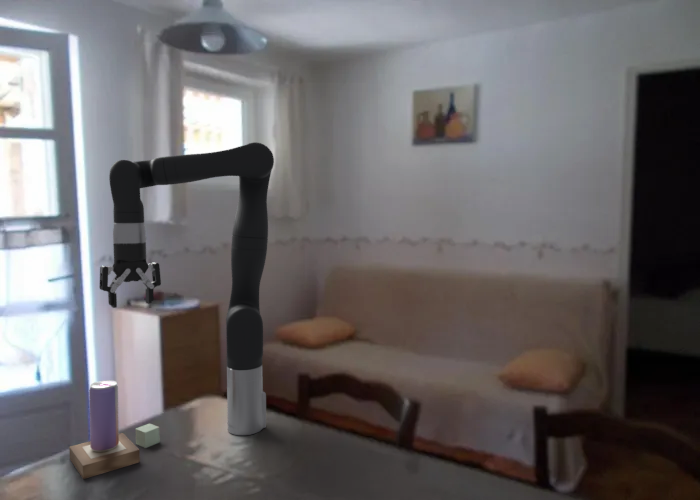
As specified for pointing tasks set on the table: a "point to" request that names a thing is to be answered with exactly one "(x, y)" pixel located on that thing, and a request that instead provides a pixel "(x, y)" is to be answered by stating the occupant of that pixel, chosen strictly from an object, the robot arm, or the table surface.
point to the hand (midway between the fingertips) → (131, 305)
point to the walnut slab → (103, 457)
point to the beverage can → (104, 416)
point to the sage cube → (147, 435)
